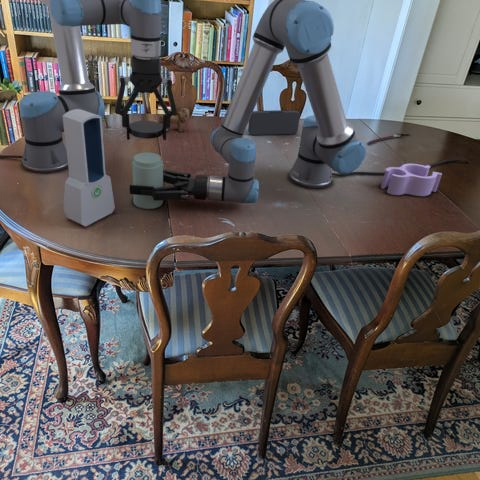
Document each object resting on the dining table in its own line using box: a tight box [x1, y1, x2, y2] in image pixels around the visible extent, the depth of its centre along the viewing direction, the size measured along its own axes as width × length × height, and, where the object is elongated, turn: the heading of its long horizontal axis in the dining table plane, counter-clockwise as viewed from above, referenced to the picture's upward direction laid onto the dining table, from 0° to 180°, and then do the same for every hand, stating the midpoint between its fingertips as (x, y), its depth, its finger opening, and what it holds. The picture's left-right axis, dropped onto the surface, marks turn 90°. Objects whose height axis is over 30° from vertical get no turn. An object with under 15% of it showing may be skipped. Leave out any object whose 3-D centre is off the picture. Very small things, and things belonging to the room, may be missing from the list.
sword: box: [367, 133, 409, 145], centre depth 213 cm, size 31×3×1 cm, turn 126°
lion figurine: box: [157, 107, 190, 132], centre depth 195 cm, size 15×5×9 cm, turn 110°
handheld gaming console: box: [247, 109, 301, 136], centre depth 202 cm, size 23×3×10 cm, turn 108°
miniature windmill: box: [86, 51, 110, 128], centre depth 183 cm, size 9×8×30 cm
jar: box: [131, 151, 164, 210], centre depth 140 cm, size 9×9×15 cm
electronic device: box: [63, 109, 116, 227], centre depth 126 cm, size 12×8×30 cm, turn 148°
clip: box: [380, 163, 443, 197], centre depth 168 cm, size 20×12×7 cm, turn 109°
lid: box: [129, 120, 163, 140], centre depth 132 cm, size 10×10×2 cm
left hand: (146, 138), depth 133 cm, fingers closed on lid, 9 cm apart
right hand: (132, 182), depth 140 cm, fingers closed on jar, 9 cm apart
